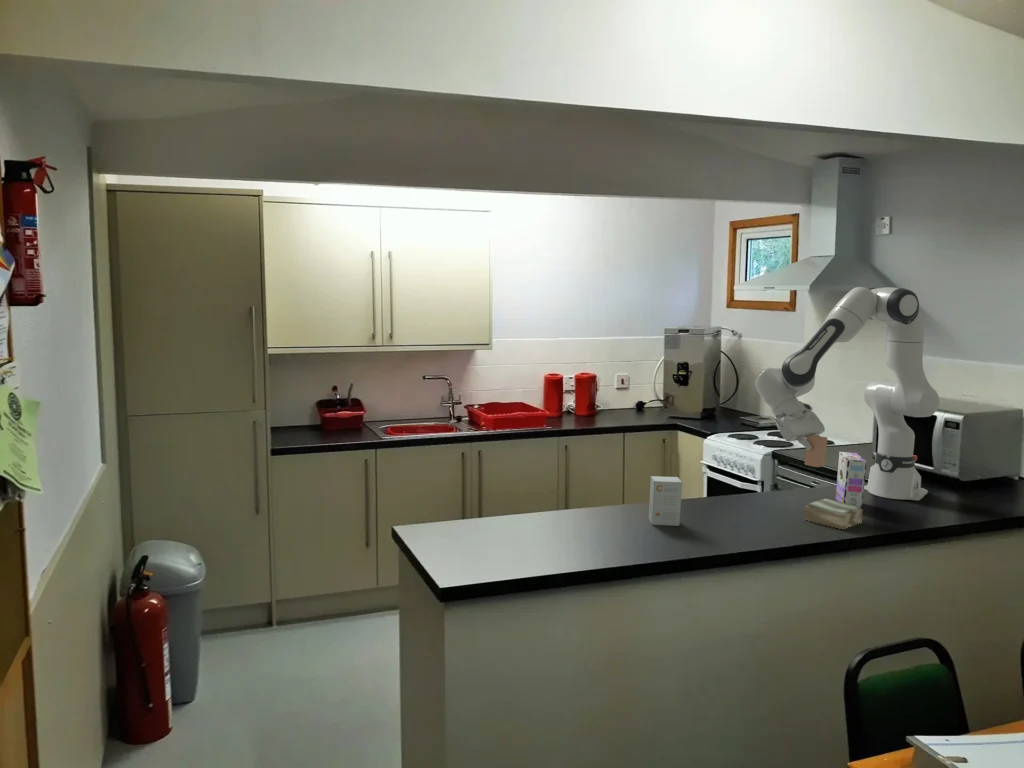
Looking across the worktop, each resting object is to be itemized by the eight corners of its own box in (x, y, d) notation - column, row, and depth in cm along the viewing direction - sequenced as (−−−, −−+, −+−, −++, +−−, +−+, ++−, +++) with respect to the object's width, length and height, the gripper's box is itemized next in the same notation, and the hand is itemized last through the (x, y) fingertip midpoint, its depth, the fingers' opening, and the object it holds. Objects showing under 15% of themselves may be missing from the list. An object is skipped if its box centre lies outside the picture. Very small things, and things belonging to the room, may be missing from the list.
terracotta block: (811, 462, 258) (814, 435, 256) (825, 465, 254) (827, 437, 253) (804, 464, 255) (806, 436, 254) (817, 467, 251) (820, 438, 250)
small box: (675, 519, 237) (678, 476, 236) (679, 526, 231) (682, 482, 230) (647, 518, 238) (650, 475, 236) (651, 525, 231) (654, 480, 230)
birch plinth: (823, 513, 250) (825, 497, 250) (861, 523, 241) (863, 506, 241) (803, 519, 242) (805, 503, 242) (842, 530, 234) (844, 513, 233)
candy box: (862, 512, 254) (867, 461, 252) (842, 510, 255) (847, 459, 253) (853, 500, 267) (857, 452, 265) (834, 499, 268) (838, 450, 266)
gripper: (779, 409, 251) (806, 446, 245) (812, 404, 265) (838, 439, 259) (765, 421, 255) (791, 457, 249) (799, 416, 268) (824, 450, 262)
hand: (816, 448), depth 254 cm, fingers closed on terracotta block, 4 cm apart
